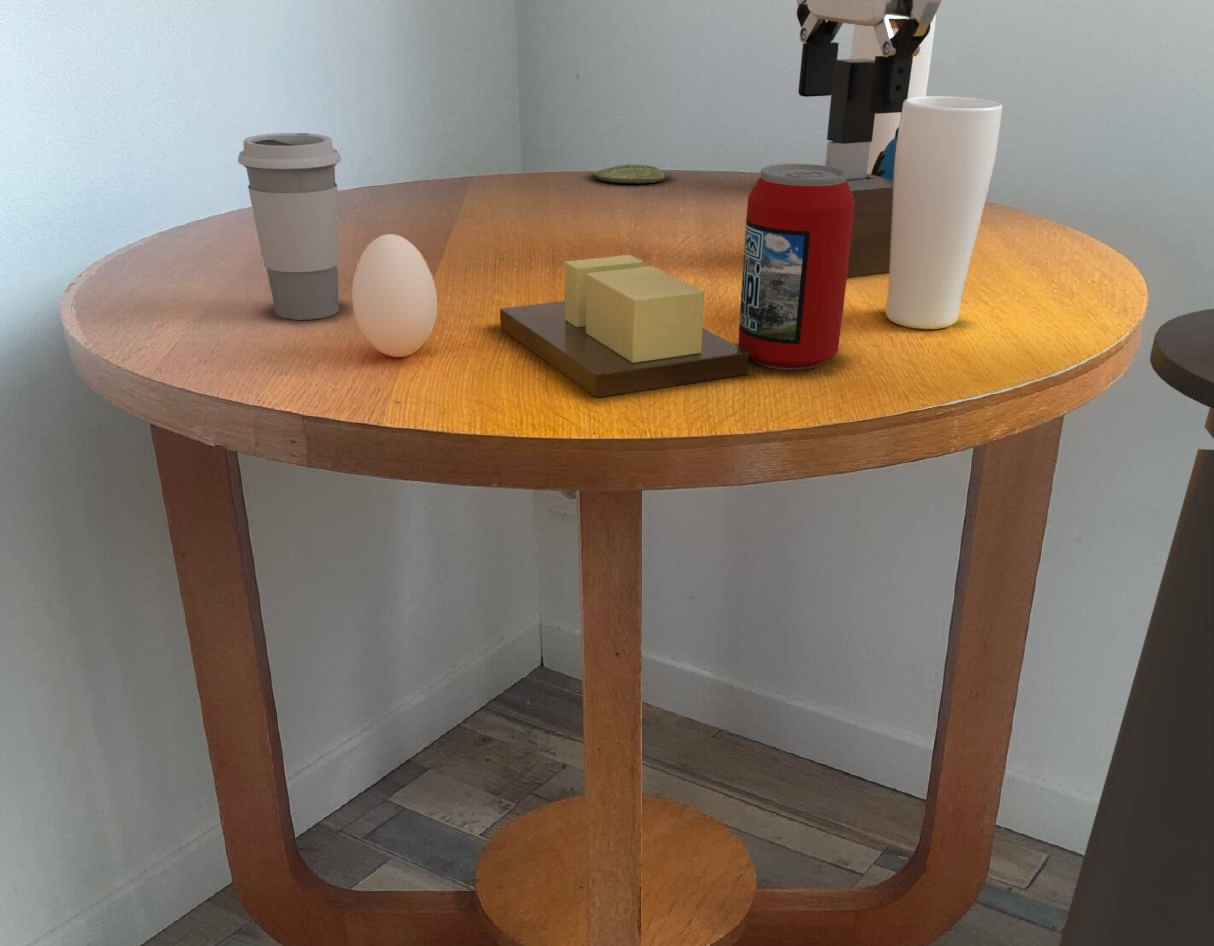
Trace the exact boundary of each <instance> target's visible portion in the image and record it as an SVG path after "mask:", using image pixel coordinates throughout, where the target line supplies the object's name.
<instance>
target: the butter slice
mask: <svg viewBox="0 0 1214 946" xmlns="http://www.w3.org/2000/svg"><path fill="white" fill-rule="evenodd" d="M643 265H644V262H643V260H641V259H639V258H638V257H637V258H636V257H635V256H633V255H632V254H625V255H615V256H607V257H597V258H587V259H577V260H568V261H564V301H565V320H566V321H567V322H569V323H570V324H572V325H574V326H575V327H585V326H586V274H587V273H595V272H604V271H613V270H622V269H631V268H640V267H644V266H643Z"/></svg>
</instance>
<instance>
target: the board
mask: <svg viewBox="0 0 1214 946" xmlns="http://www.w3.org/2000/svg"><path fill="white" fill-rule="evenodd" d="M499 316H500V320H499V321H500V330H502V331H503V332H505V334H507V335H509V336H511V337H512V338H513V339H514V340H516V341H517V342H518V343H520V344H521V345H522V346H523V347H525V348H526V349H528V350H529V351H531V352H532V353H534V354H535V355H536V356H538V357H539V358H541V359H542V360H543V361H545V362H546V363H548V364H549V365H550V366H552V367H553V368H554V369H556V370H557V371H558V372H559V373H561V374H563V375H564V376H565V377H566V378H568V379H570V380H571V381H573V382H574V383H575V384H577V385H578V386H579V387H581V388H582V389H583V390H585V391H586V392H587V393H589V394H591V395H592V396H593V397H595V398H604V397H609V396H617V395H622V394H629V393H635V392H636V393H637V392H641V391H643V392H644V391H648V390H649V391H650V390H654V389H655V390H656V389H661V388H668V387H675V386H681V385H688V384H693V383H701V382H706V381H707V382H708V381H714V380H720V379H727V378H733V377H739V376H745V375H748V373H749V363H750V357H749V352H747V351H746V350H744V349H742V348H740V347H739V345H737V344H734V343H732V342H731V341H729V340H727V339H725V338H723V337H721V336H719V335H717V334H716V333H713V332H712V331H710V330H709V329H706V328H705V327H703V329H702V349H701V353H699V354H692V355H685V356H678V357H672V358H665V359H658V360H651V361H644V362H637V363H632V362H630V361H629V360H627V359H626V358H624V357H622V356H621V355H619V354H618V353H616V352H615V351H613V350H611V349H610V348H608V347H607V346H605V345H604V344H602V343H600V342H599V341H597V340H596V339H594V338H593V337H591V336H589V335H588V334H586V326H585V327H575V326H574V325H572V324H570V323H569V322H567V321H566V320H565V300H560V301H552V302H543V303H534V304H526V305H519V306H518V305H517V306H510V307H502V308H501V307H500V309H499Z"/></svg>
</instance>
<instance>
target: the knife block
mask: <svg viewBox="0 0 1214 946" xmlns="http://www.w3.org/2000/svg"><path fill="white" fill-rule="evenodd" d="M847 182H848V185H849V187H850V190H851V193H852V195H853V198H854V201H855V204H854V214H853V224H852V234H851V244H850V253H849V262H848V271H847V278H853V277H861V276H862V277H863V276H868V275H869V276H871V275H878V274H886V273H889V264H890V244H891V222H892V199H893V180H889V179H885V178H882V177H878V176H874V175H871V174H867V176H866V179H864V180H852V181H847Z"/></svg>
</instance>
